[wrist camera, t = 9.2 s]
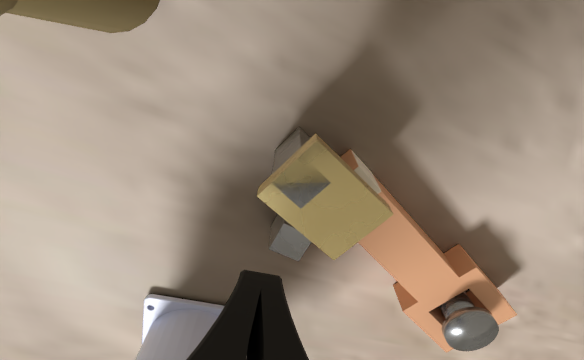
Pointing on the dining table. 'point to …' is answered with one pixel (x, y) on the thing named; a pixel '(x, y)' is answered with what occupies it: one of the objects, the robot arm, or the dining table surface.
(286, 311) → the robot arm
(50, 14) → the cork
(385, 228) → the link
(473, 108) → the dining table surface
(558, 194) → the dining table surface
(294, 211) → the stand
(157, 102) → the dining table surface
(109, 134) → the dining table surface
